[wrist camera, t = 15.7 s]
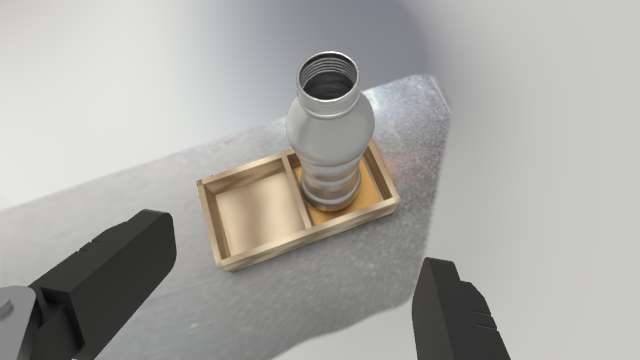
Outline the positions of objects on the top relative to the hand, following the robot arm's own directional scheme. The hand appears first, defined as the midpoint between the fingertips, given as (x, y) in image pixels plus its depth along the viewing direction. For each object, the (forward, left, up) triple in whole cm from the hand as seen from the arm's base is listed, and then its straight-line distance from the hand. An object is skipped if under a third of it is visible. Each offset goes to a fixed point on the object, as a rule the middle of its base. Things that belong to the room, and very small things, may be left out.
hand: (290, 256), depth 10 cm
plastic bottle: (+5, +10, -25) cm, 27 cm away
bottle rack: (+1, +10, -26) cm, 28 cm away
